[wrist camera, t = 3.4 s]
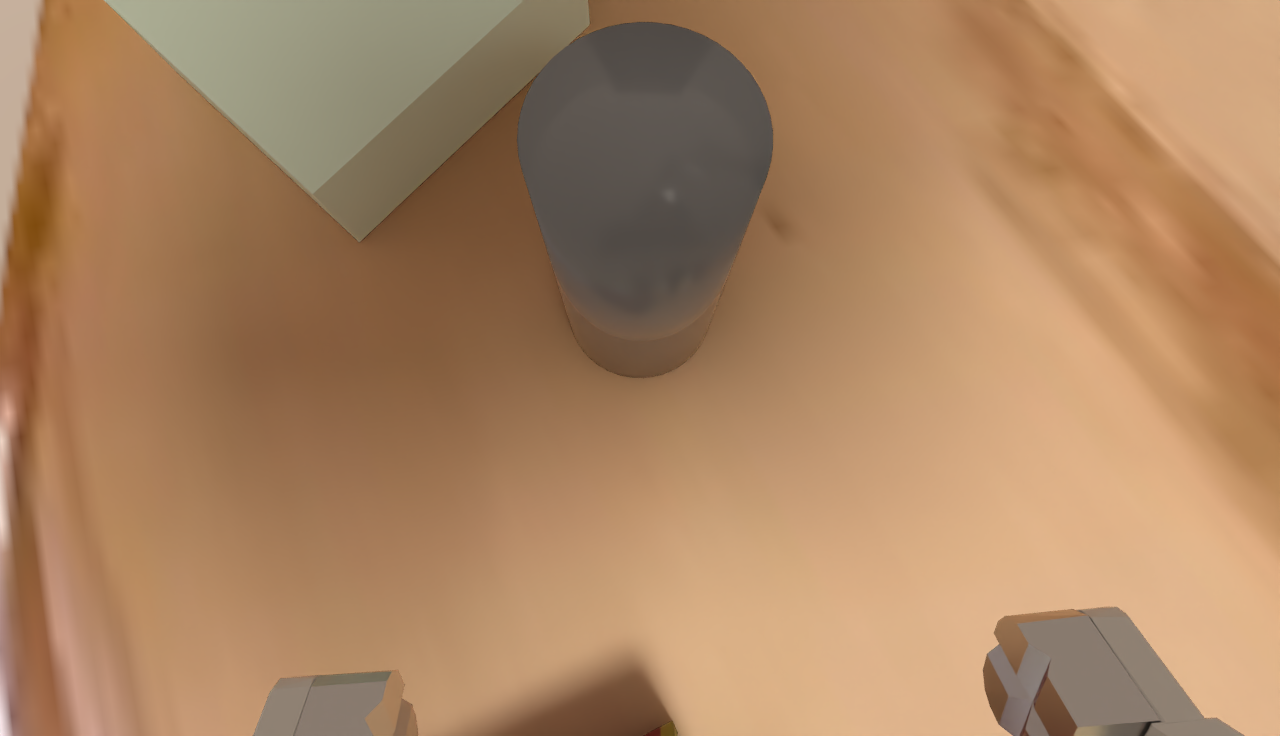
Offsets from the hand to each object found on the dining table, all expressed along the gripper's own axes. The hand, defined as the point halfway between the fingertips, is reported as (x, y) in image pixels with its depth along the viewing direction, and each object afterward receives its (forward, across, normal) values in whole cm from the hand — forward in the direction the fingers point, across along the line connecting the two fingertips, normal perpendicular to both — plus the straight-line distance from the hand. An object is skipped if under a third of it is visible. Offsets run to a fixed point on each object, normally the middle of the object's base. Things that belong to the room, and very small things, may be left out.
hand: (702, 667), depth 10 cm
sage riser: (+25, +9, -4) cm, 27 cm away
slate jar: (+17, 0, +4) cm, 17 cm away
